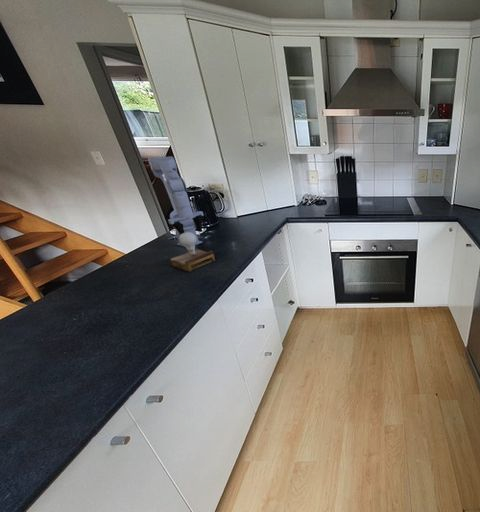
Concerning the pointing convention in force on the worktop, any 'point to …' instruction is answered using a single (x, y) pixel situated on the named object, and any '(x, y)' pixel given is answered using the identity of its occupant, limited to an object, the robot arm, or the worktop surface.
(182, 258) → the wooden pallet
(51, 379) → the worktop surface
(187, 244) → the lightbulb
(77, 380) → the worktop surface
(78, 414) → the worktop surface
